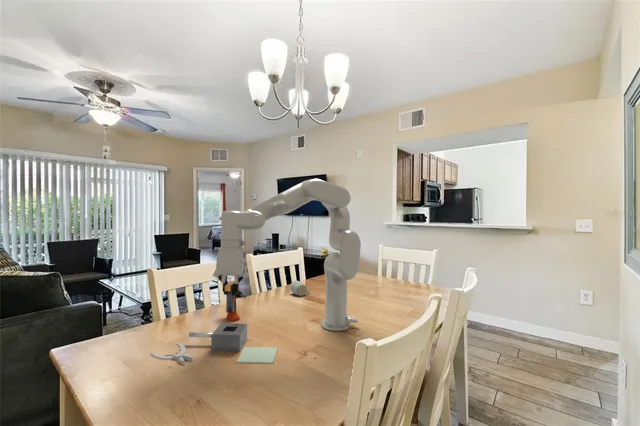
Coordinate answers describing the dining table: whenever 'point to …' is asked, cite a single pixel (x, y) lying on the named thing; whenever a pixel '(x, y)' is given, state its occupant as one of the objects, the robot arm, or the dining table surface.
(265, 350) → the mat
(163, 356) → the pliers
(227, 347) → the block
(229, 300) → the chuck key
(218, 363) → the dining table surface
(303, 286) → the ceramic mug
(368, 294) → the dining table surface
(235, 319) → the toy drill
